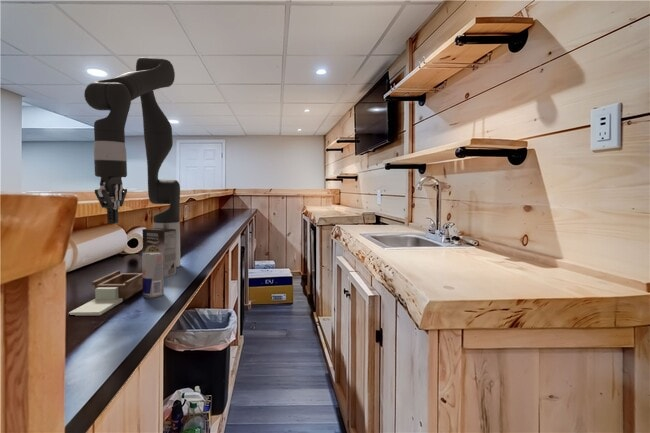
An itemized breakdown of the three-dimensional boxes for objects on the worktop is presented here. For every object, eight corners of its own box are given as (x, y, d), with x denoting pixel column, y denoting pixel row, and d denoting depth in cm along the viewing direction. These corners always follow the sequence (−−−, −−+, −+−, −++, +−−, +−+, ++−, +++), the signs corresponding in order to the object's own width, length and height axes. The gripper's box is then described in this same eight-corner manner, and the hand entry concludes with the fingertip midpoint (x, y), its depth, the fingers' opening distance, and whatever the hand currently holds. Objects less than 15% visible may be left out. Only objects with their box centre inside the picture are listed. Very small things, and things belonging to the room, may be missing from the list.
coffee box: (142, 275, 124) (141, 229, 123) (156, 271, 131) (155, 227, 129) (164, 277, 122) (163, 230, 121) (177, 273, 128) (176, 228, 127)
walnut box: (118, 286, 111) (117, 270, 110) (149, 286, 111) (149, 270, 111) (92, 300, 97) (91, 282, 96) (128, 299, 98) (127, 281, 97)
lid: (95, 302, 96) (95, 287, 96) (122, 302, 96) (122, 286, 96) (69, 317, 85) (68, 300, 85) (99, 317, 86) (99, 299, 85)
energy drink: (144, 293, 103) (143, 252, 103) (164, 291, 105) (163, 251, 105) (141, 298, 98) (140, 255, 98) (163, 297, 100) (162, 254, 100)
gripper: (112, 158, 91) (115, 226, 93) (136, 161, 104) (137, 220, 106) (81, 157, 91) (84, 226, 92) (108, 160, 104) (111, 220, 105)
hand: (113, 223), depth 99 cm, fingers closed
